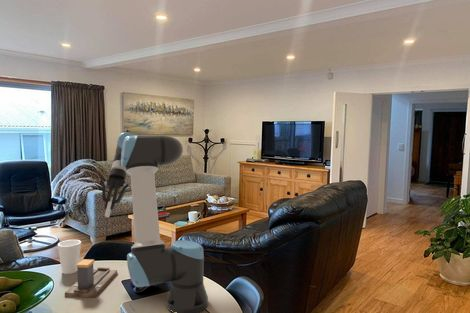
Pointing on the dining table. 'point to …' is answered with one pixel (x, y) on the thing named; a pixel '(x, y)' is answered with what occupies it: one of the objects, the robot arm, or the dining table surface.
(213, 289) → the dining table surface
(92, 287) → the brown wooden flat board
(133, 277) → the robot arm
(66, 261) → the foam cup
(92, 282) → the fader tab
